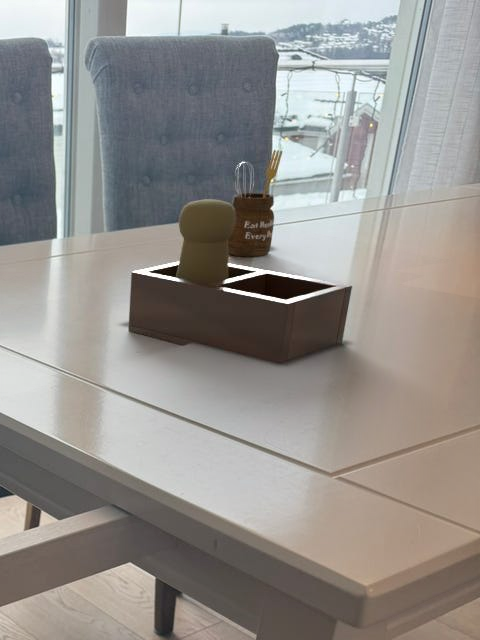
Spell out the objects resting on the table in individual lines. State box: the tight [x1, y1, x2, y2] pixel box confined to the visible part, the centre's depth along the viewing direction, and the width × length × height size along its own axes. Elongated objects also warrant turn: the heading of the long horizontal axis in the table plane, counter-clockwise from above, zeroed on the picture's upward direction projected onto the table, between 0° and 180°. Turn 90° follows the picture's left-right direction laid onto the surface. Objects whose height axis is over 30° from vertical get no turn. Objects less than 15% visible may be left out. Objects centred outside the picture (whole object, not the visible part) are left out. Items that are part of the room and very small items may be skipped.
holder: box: [127, 261, 353, 364], centre depth 88 cm, size 10×18×6 cm, turn 40°
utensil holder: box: [228, 149, 283, 258], centre depth 121 cm, size 6×6×12 cm
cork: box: [176, 198, 236, 284], centre depth 89 cm, size 6×6×11 cm
